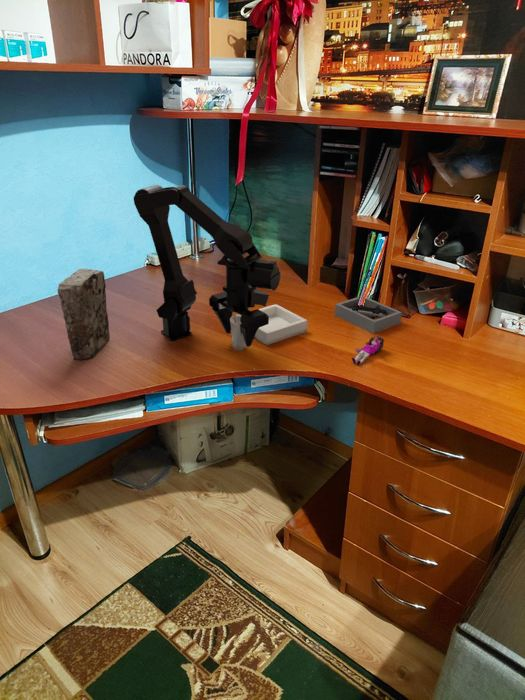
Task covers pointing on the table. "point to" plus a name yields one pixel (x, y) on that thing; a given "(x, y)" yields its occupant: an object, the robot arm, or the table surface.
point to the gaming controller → (369, 311)
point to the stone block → (85, 312)
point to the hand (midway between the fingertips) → (238, 339)
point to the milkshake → (237, 333)
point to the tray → (280, 325)
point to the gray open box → (365, 322)
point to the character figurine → (369, 349)
